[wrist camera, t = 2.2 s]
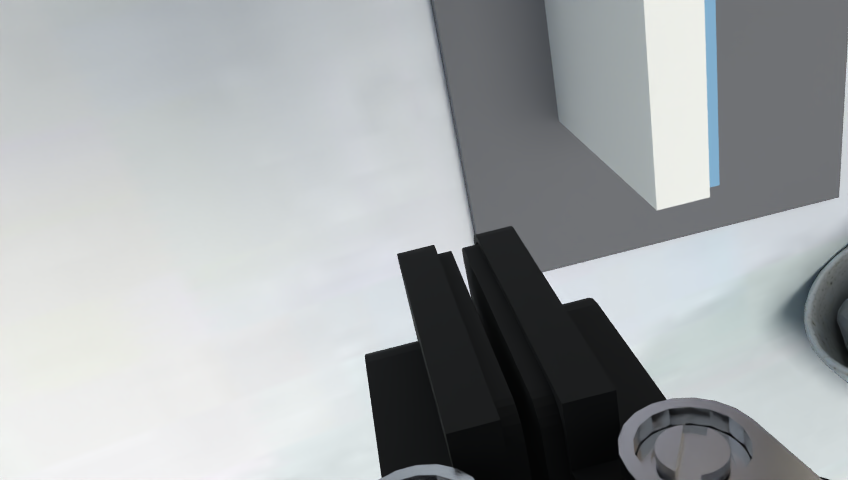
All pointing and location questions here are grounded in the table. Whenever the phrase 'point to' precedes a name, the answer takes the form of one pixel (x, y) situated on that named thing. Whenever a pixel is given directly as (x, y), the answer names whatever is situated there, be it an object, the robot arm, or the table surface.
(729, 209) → the mat
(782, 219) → the table surface
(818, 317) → the ceramic mug
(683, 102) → the tile
